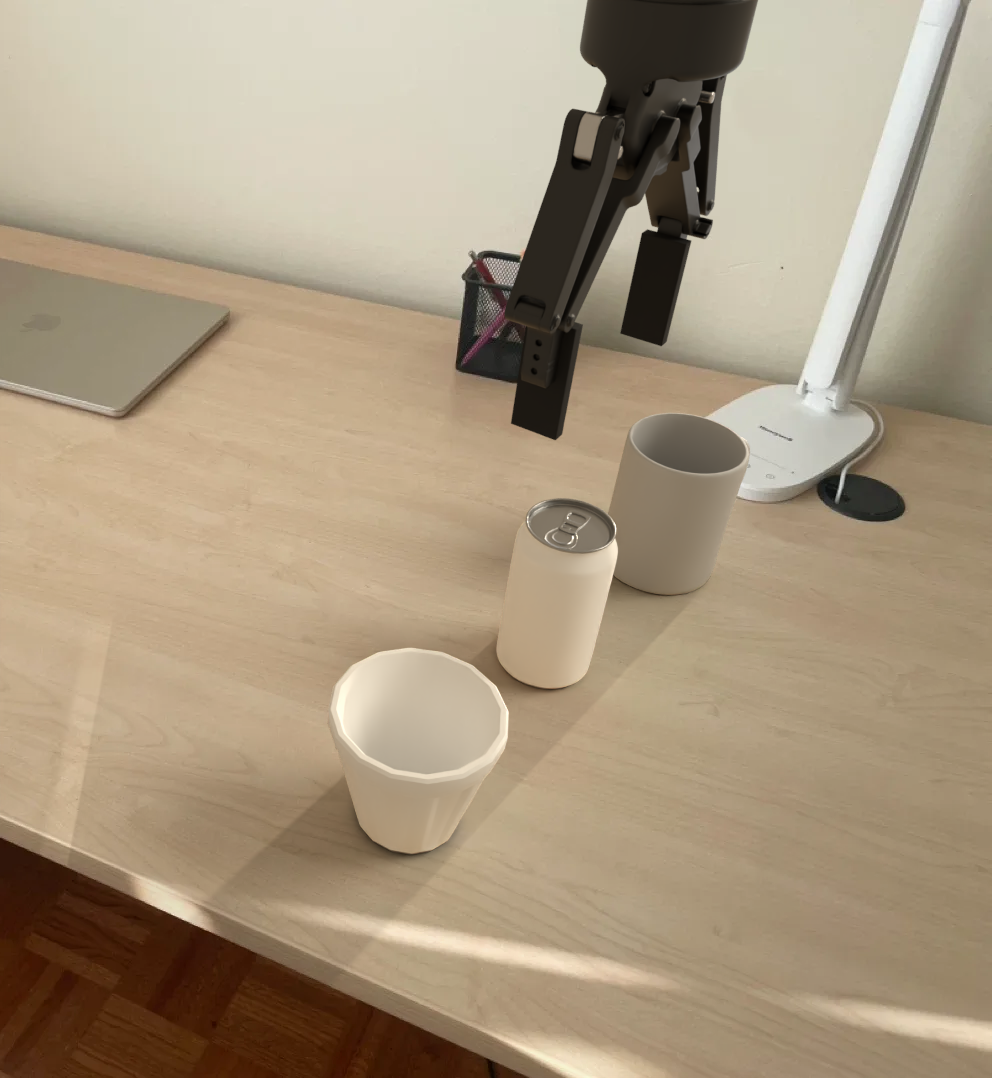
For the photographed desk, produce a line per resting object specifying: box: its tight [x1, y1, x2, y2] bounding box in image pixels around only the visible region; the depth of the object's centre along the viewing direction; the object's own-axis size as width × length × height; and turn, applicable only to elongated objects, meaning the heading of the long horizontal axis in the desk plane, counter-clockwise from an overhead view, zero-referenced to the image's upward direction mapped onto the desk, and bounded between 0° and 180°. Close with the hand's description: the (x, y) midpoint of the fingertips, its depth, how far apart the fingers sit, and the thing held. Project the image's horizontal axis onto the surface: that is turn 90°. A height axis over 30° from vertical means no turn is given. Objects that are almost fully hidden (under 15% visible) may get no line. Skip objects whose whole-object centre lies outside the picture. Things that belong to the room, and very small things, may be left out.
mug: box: [607, 412, 751, 596], centre depth 80 cm, size 12×8×11 cm
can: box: [495, 497, 618, 690], centre depth 71 cm, size 6×6×12 cm
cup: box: [327, 647, 510, 856], centre depth 61 cm, size 10×10×9 cm
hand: (593, 381), depth 62 cm, fingers open, 13 cm apart
